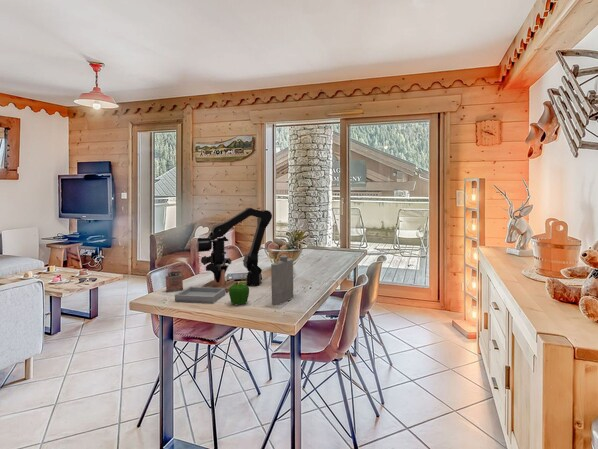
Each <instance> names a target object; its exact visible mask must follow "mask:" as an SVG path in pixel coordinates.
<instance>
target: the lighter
mask: <svg viewBox="0 0 598 449" xmlns="http://www.w3.org/2000/svg"><path fill="white" fill-rule="evenodd" d="M181 273H182V270H180V269H179V270H178V269H177V270H172V271H168V272H167V275H166V276H165V287H166V288H165V289H166V290H165V292H166V293H175V292H177V293H178V292H181V291H183V290H184V286H183V285H184V284H183V282H184V281H183V277H184V275H183V274H181Z"/></svg>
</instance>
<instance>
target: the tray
mask: <svg viewBox="0 0 598 449" xmlns="http://www.w3.org/2000/svg"><path fill="white" fill-rule="evenodd" d="M225 295H226V293H225V288H209V287H202V286H188V287H187V288H185V289H183V290H182V291H178V292H177V293H176V294H175V295H174V302H175V303H192V304H211V305H212V304H216V303H217V301H219V300H220V299H221V298H223V297H224V296H225Z"/></svg>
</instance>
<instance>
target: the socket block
mask: <svg viewBox="0 0 598 449" xmlns="http://www.w3.org/2000/svg"><path fill="white" fill-rule="evenodd" d="M238 283H239V281H238V280H237V281H236V280H225V285H223V286H214V279H212V280H210V281H209V282H206V283H205V284H204V285H202V286H201V287H209V288H225V294H226V293H228V294H229V288H230V287H232V285H234V284H236V285H238Z"/></svg>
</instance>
